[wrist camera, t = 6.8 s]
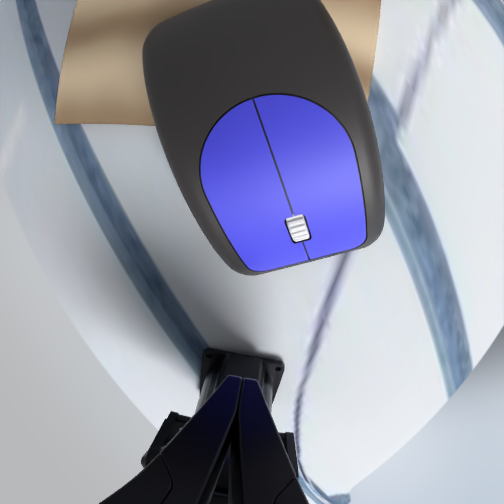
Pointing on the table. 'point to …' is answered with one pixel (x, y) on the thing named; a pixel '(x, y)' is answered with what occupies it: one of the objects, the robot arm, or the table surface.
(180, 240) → the table surface
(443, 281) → the table surface
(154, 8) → the wooden board
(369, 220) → the leaning round-cornered charcoal block
